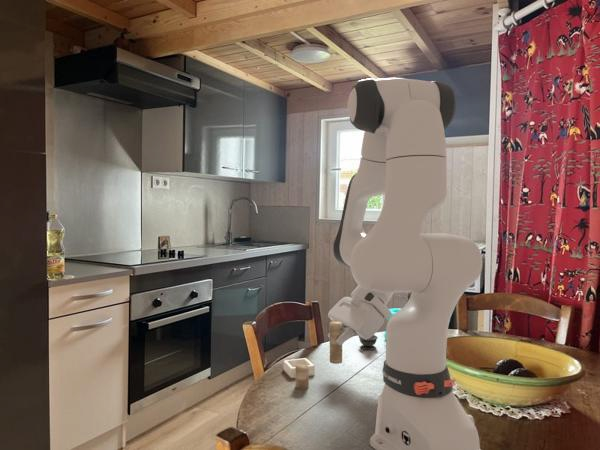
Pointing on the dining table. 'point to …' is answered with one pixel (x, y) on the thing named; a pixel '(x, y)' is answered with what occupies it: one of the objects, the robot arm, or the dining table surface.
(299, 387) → the short pin
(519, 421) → the dining table surface
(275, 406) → the dining table surface
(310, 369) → the socket
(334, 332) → the long pin
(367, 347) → the dark grey chess piece
